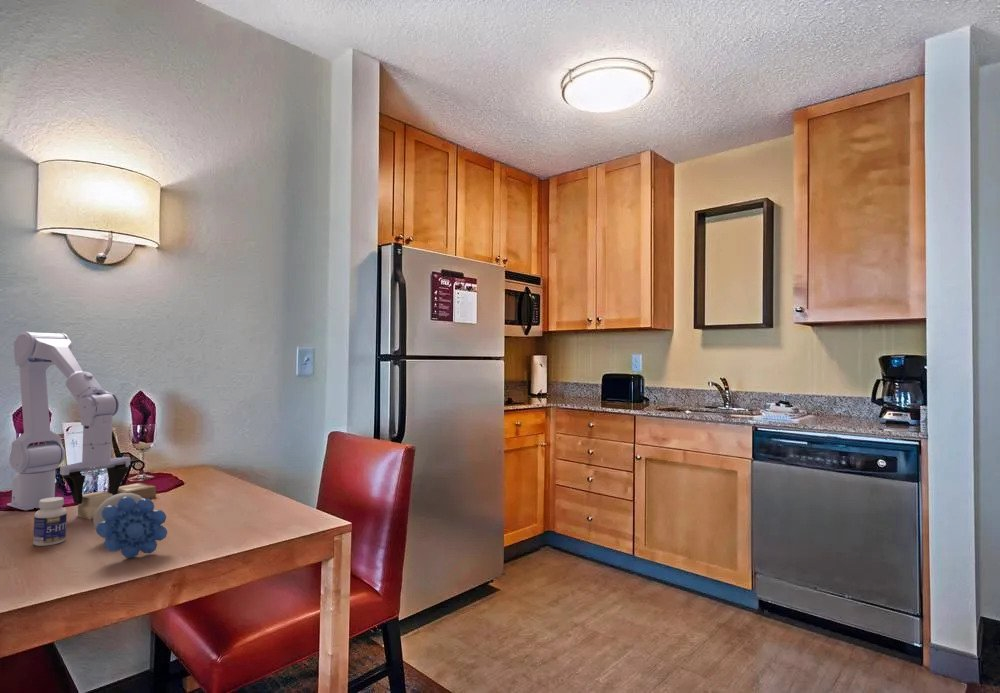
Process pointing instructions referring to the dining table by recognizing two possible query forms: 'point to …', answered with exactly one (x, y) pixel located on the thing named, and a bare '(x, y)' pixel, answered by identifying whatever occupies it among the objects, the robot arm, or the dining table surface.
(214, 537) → the dining table surface
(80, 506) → the cube
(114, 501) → the donut
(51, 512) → the pill bottle
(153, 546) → the blue flower rosette
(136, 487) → the base
